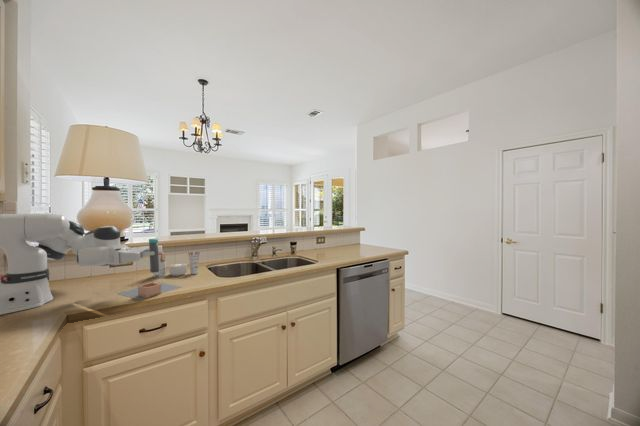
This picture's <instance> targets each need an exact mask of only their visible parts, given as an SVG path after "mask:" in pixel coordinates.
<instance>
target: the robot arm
mask: <svg viewBox="0 0 640 426" xmlns="http://www.w3.org/2000/svg"><path fill="white" fill-rule="evenodd" d="M28 242H30V243H38V245H35V246H34V245H30V244H28ZM0 248H1V250H2V251H3V252H4V254H5V257H6V261H7V273H6V274H0V316H2V315H6V314H10V313H15V312H19V311H24V310H29V309H34V308H38V307H42V306H43V305H45V304H46V303H49V302H51V301H53V300H54V295H52V294H53V293H52V292H51V289H50V284H49V281H50V269H49V268H48V260H51V261H59V260H62V259H63V258H65V256H66V254H67V253H68V252H69V251H70V250H71V252H72V253H73V254H74V255H76V262H77V265H78V266H79V267H81V266H82V267H106V266H112V265H113V266H119V265H124V264H127V263H134V262H138V261H140V260H142V259H143V258H144V257H145V258H146V257H150V255H155V251H150V250H149V245H143V246H135V247H131V246H129V247H128V245H127V244H121V230H120V229H119V228H118V227H116V226H113V225H104V226H100V227H97V228H95V229H93V230H89V231H88V232H85V229H84V227H83V225H81V224H80V223H79V222H77V221H74V220H69V219H68V218H67V217H66V216H65V215H63V214H56V213H1V214H0Z"/></svg>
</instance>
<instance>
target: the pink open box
mask: <svg viewBox="0 0 640 426" xmlns="http://www.w3.org/2000/svg"><path fill="white" fill-rule="evenodd" d="M137 288H138V296H141V297H145V298H146V299H148V297H149V298H152V297H155V296H159V295H162V294H161V284H159V283H158V282H153V281H152V282H148V283H145V284H140V285H138V286H137ZM154 295H155V296H154ZM151 296H152V297H151Z"/></svg>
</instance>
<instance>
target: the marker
mask: <svg viewBox="0 0 640 426" xmlns="http://www.w3.org/2000/svg"><path fill="white" fill-rule="evenodd" d="M148 246H149V250H150V251H155V255H150V256H149V268H150V269H149V270H150V271H149V272H150V273H153V272H158V271H159V253H158V246H159V238H150V239H148Z"/></svg>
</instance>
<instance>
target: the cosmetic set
mask: <svg viewBox="0 0 640 426" xmlns="http://www.w3.org/2000/svg"><path fill="white" fill-rule="evenodd" d="M158 253H159V271H158V272H153V276H152V277H153V278H163V277H166V276H167V256H166V254H165V253H164V251H163V246H162V245H158ZM187 253H188V254H187V255H188V259H189V269H190V270H189V274H190V275H197V274H198V273H199V259H200V253H201V250H189V251H187ZM187 265H188V264H187V263H186V262H185V263H181V262H180V263H172V264H170V265H169V266H168V267H169V270H168V271H169V274H170V276H173V277H174V276H176V277H179V276H184V275H185V274H186V273H187V270H188V266H187Z"/></svg>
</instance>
